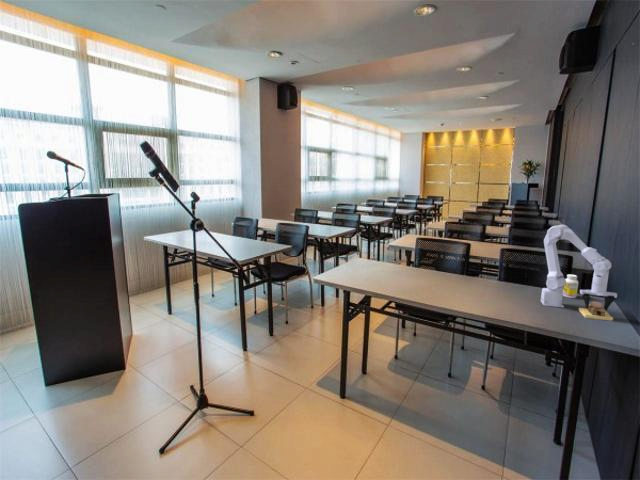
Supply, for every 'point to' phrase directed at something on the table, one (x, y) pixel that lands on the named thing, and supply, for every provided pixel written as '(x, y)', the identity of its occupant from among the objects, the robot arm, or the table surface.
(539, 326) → the table surface
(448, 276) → the table surface
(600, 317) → the plate
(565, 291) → the supplement bottle
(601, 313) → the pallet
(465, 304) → the table surface
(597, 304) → the salmon pink square block
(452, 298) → the table surface
